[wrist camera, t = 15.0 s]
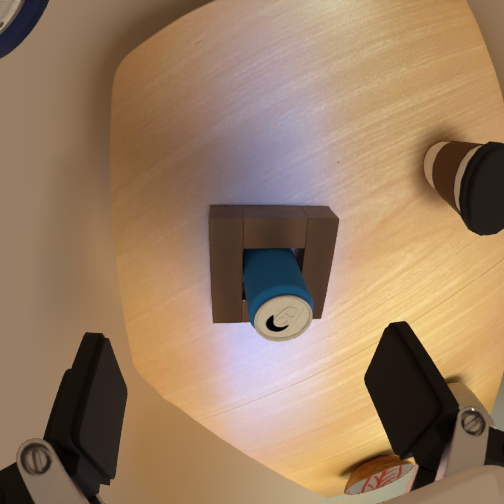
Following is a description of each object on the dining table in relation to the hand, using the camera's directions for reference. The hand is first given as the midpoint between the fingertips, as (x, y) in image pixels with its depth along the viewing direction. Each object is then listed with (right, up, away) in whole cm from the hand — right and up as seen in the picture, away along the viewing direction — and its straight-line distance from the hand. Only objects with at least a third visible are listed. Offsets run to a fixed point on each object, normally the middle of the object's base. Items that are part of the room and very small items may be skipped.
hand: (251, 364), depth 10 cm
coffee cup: (+25, +16, +26) cm, 39 cm away
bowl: (+42, -69, +72) cm, 108 cm away
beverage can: (+2, +3, +30) cm, 30 cm away
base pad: (+2, +3, +30) cm, 30 cm away
